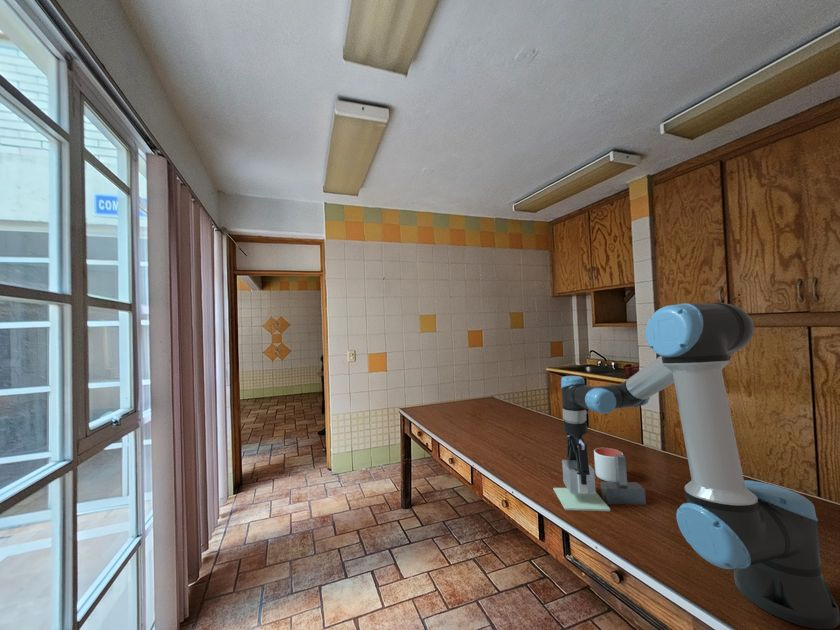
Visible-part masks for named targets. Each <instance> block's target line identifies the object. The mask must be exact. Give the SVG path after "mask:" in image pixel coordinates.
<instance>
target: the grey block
mask: <svg viewBox="0 0 840 630" xmlns="http://www.w3.org/2000/svg"><path fill="white" fill-rule="evenodd" d="M626 460H627V459H626V456H625V455H624V454H623V455H622V454H615V468H616V482H607V481H599V483H600V494H601V496H600V497H601V499H602V500H603V501H604V502H605V503H606V505H639V506H640V505H644V506H646V505H647V501H646V498H647V497H646V489H645V488H644V487H643V486H642V485H641V484H640V483H639V482H636V481H634V482H633V481H631V482H630V481H628V478H627V462H626Z"/></svg>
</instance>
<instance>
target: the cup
mask: <svg viewBox="0 0 840 630" xmlns="http://www.w3.org/2000/svg"><path fill="white" fill-rule="evenodd" d="M615 454H622V455H623V456H624V454H623V452H622V451H620V450H618V449H615V448H610V447H597V448H595V449H594V450H593V456H594V457H593V458H594V474H595V475H596V477H597V478H598V479H600V480H602V481H603V482H616V468H615Z"/></svg>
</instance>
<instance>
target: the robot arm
mask: <svg viewBox="0 0 840 630" xmlns="http://www.w3.org/2000/svg"><path fill="white" fill-rule="evenodd" d="M645 326H646V327H645V333H644V334H645V339H646V343H647V345H648V346H649V348H650V349H652V351H653V353H655V354H657V355H659V356H658V357H657V358H655V359H654V360H653V361H651V362H650V363H649V364H647V365H646V366H644V367H643V368H642V369H640V370H638V371H637V372H636V373H634V374H633V375H632V376H630V377H628V378H627V379H626V380H625V381H623V382H622V383H619V384H610V385H609V384H608V385H600V386H594V385H593V386H591V385H587V384H586V382H585V379H584V377H582V376H580V375H579V376H578V375H565V376H562V377H561V380H560V381H561V382H560V383H561V387H560V392H561V404H562V409H561V410H562V419H563V421H562V423H563V431H564V432H565V434H566V435H565V436H566V457H567V460H577V465H578V470H579V472H577V474H578V486H579V493H580V494H588V483H587V475H590V472H589V465H590V464H589V455H588V444H587V443H585V440H584V438H583V436H584V435H587V433H588V423H587V414H588V411H587V410H589V411H592V412H594V413H596V414H602V415H603V414H604V415H607V414H610V413H611V412H613V411H614V410H615V409H624V408H625V409H626V408H638V407H641V406H645V405H647V404H648V403H649V400H650V398H651V397H653V396H654V395H656V394H657V393H659V392H661V391H662V390H664V389H666V388H667V387H669V386H671V385H673V384H674V390H675V395H676V401H677V404H678V405H677V406H678V411H679V417H680V421H681V422H680V424H681V429H682V433H683V439H684V444H685V445H684V446H685V451H686V457H687V462H688V466H689V473H690V478H691V480H690V481H689V482H688V483H687V484H685V485H684V493H685V499H686V502H685V503H684V502H683V503H682V504H681V505H680V506H679V508H677V510H676V514H675V515H676V522H677V525H678V528H679V530H680V532H681V534H682V536H683V537H684V539H685V541H686V542H687V543H688V544H689V545H690V546H691V547H692V549H693V550H694V551H695V552H696V553H697V554H698V555H699V556H700V557H701V558H703V559H704V560H706V562H708V563H710V564H711V565H713V566H716V567H718V568H721V569H725V570H733V578H734V584H735V586H736V588H737V589H738V591H739V592H740V593H741V595H743V596H744V597H745V598H746V599H747V600H749V601H750V602H751V603H752V604H754V605H755V606H757V607H758V608H760V609H762V610H763V611H765V612H767V613H769V614H771V615H773V616H774V617H777V618H778V619H781V620H784V621H786V622H788V623H792V624H795V625H798V626H801V627H805V628H808V629H815V630H822V629H827V630H833V629H835V628H837V627H839V626H840V609H839V606H838V604H837V602H836V599H835V598H834V596H833V594H832V591H831V590H830V587H829V586H828V584H827V582H826V580H825V578H824V576H823V573H822V561H821V551H820V539H819V528H818V526H819V525H818V522H819V518H817V514H816V508H815V505H814V503H813V502H812V501H810V499H808V498H807V497H805V496H803V495H801V494H799V493H797V492H795V491H792V490H791V489H787V488H784V487H781V486H778V485H774V484H770V483H766V482H762V481H755V480H750V479H749V480H746V479H744V476H743V475H744V474H743V470H742V464H741V459H740V455H739V449H738V445H737V439H736V436H735V430H734V425H733V420H732V413H731V410H730V405H729V400H728V395H727V390H726V384H725V379H724V375H723V371H722V370H723V369H724V368H725V366H727V365H729V363H730V358H729V357H730V356H732V355H733V354H735V353H737V352H738V351H740V350H742V349H743V348H745V347H746V346H747V345H748V344H749V343H750V341H751V340H752V338H753V337H754V336H753V335H754V333H755V332H754V330H755V327H754V323H753V320H752V317H751V316H750V315H749V314H748V313H747V312H746V311H744V309H742V308H740V307H738V306H736V305H733V304H731V303H725V302H711V303H710V302H704V303H703V302H702V303H699V302H698V303H695V302H694V303H690V302H688V303H687V302H686V303H685V302H684V303H677V304H671V305H666V306H663V307H661V308H659V309H657V310H656V311H655V312H654V313H653V314H652V315H651V317H649V318H648V320H647V323H646V325H645Z"/></svg>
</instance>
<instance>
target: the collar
mask: <svg viewBox="0 0 840 630" xmlns="http://www.w3.org/2000/svg"><path fill="white" fill-rule="evenodd" d="M561 465H562V481H563V482H562V483H563V484H564V485H565V488H567V489H568V490H569V492H570V493H571V494H580V493H579V486H578V474H577V472H579V470H578V465H577V460H568V459H561ZM589 472H590V475H587V483H588V494H596V492H597V491H596V478H595V477H596V476H595V475H596V473H595V468H593V467H592V465H590V464H589Z"/></svg>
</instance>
